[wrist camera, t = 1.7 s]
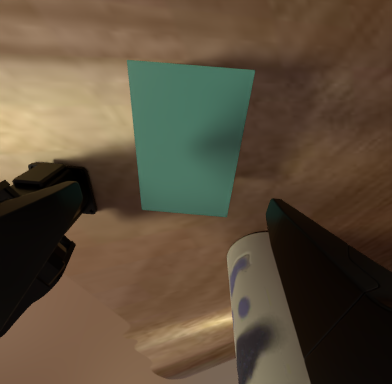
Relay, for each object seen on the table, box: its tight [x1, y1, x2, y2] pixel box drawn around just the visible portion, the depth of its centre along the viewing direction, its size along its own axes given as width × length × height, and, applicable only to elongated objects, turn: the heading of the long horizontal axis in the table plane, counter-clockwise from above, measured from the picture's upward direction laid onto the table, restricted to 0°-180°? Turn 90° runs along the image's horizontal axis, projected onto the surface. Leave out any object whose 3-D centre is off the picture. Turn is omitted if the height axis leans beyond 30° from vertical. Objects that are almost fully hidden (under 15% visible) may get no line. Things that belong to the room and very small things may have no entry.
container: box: [227, 232, 311, 384], centre depth 21 cm, size 10×10×20 cm
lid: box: [127, 60, 255, 217], centre depth 15 cm, size 11×7×2 cm
